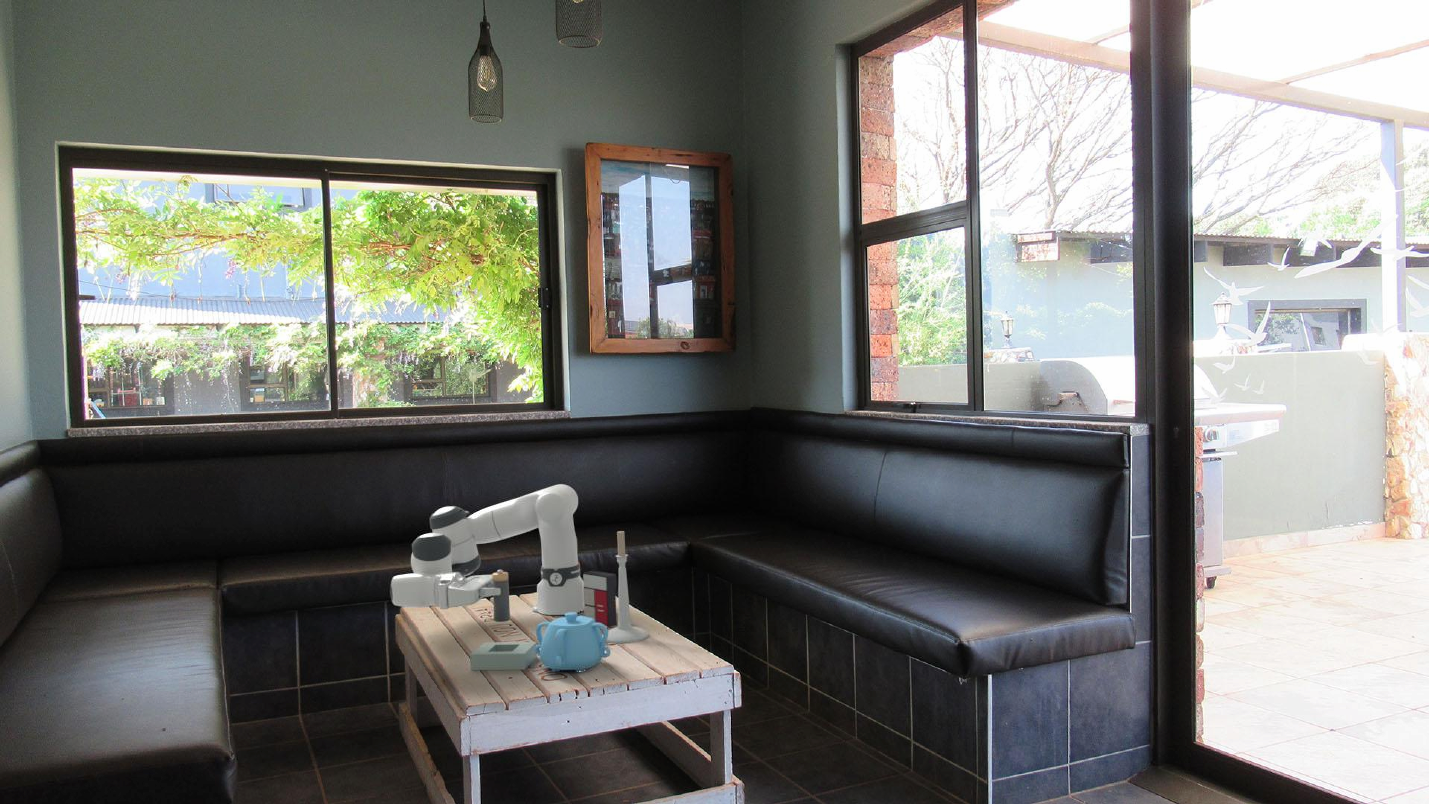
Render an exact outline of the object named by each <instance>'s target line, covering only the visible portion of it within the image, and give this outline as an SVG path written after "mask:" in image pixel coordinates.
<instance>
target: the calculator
mask: <svg viewBox="0 0 1429 804" xmlns="http://www.w3.org/2000/svg"><path fill="white" fill-rule="evenodd" d="M582 576H583V577H582V580H583V582H584V589H583V592H584V604H585V606H584V611H583V612H584V613H583V614H584V615H583V616H585V617H590V618H593V619H594V620H595V622H596V623H602V624H604V625H605V626H607V628H612V627H611V626H613V627H615V626H618V617H617V595H616V590H617V587H618V586H617V585H618V584H617V583H618V581H617V574H616V573H610V572H603V571H598V570H589V571H584V572H583V575H582Z"/></svg>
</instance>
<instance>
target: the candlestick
mask: <svg viewBox="0 0 1429 804" xmlns="http://www.w3.org/2000/svg"><path fill="white" fill-rule="evenodd" d="M616 535H617V536H616V537H617V555H615V557H616V561H617V563H618V566H619V567H618V607H617V609H618V614H617V615H618V617H617V627H613V628H611V629H609V630H608V638H607V642H606V643H609V644H632V643H631V642H633V643H636V642H635V641H638V642H642V641H644V640H646V639H647V638H648V637H649V632H648V631H647V630H645V629H643V628H641V627H638V626H632V622H631V621H632V620H631V612H630V611H631V610H630V599H629V589H628V588H629V587H628V577H627V576H628V575H627V568H626V563H627V561H628V559H627V558H628V556H629V555H628V554H626V540H625V539H626V538H625V531H624V530H623V531H622V530H621V529H620V530H619V531H617V532H616ZM602 637H603V634H602ZM645 638H646V639H645ZM643 639H644V640H643ZM641 640H642V641H641Z"/></svg>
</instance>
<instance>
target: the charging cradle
mask: <svg viewBox="0 0 1429 804" xmlns="http://www.w3.org/2000/svg"><path fill="white" fill-rule="evenodd" d="M537 646H538V645H537V641H517V642H516V641H515V642H514V641H511V642H510V641H507V642H506V641H505V642H504V641H503V642H496V641H495V642H491V641H490V642H483V643H482V644H481V645H480V646H478V647H477V648H476V649H475V650H474V651H472V652H471V653H470V654H469V659H470V671H500V670H501V671H507V670H508V671H509V670H511V671H513V670H514V671H516V670H519V671H520V670H521V671H522V670H527V668H528V667H529V666H530V665H531V664H532V663H533V662H534V661H535V660H536V659H537V658H538V654H536V652H535V649H536V647H537Z"/></svg>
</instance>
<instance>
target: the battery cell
mask: <svg viewBox="0 0 1429 804" xmlns="http://www.w3.org/2000/svg"><path fill="white" fill-rule="evenodd" d="M508 572H509V571H508ZM508 572H507V571H504V570H503V569H498V570H497V571H496V572H493V573H492V574H491V575H492V581H493V588H494V587H501V588H502V593H501V594H500V595H493V596H492V598H493V599H492V600H493V601H492V602H493V622H496V623H503V622H508V621H510V620H511V612H510V587H509V573H508Z"/></svg>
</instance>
